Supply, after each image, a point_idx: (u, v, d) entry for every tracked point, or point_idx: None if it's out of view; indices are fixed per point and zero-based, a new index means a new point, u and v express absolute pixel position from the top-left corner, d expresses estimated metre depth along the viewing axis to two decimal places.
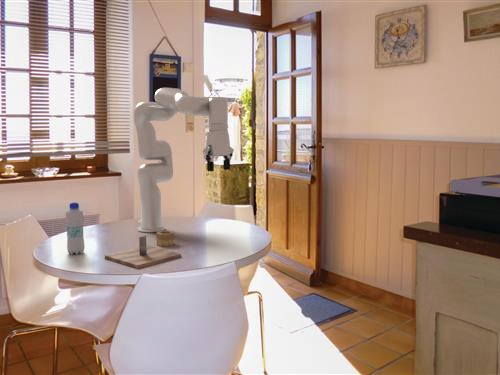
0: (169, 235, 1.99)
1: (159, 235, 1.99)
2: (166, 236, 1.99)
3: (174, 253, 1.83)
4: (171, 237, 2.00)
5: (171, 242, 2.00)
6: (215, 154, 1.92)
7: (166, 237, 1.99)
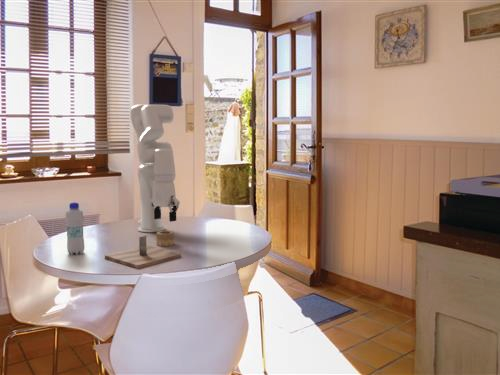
0: (169, 235, 1.99)
1: (159, 235, 1.99)
2: (166, 236, 1.99)
3: (174, 253, 1.83)
4: (171, 237, 2.00)
5: (171, 242, 2.00)
6: None
7: (166, 237, 1.99)
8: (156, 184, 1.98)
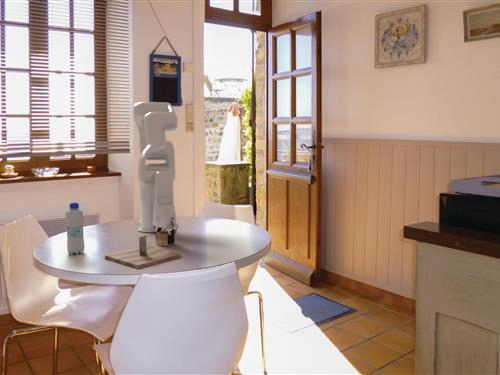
0: None
1: (159, 235, 1.99)
2: (166, 236, 1.98)
3: (174, 253, 1.83)
4: None
5: None
6: None
7: (166, 237, 1.99)
8: (156, 205, 1.99)
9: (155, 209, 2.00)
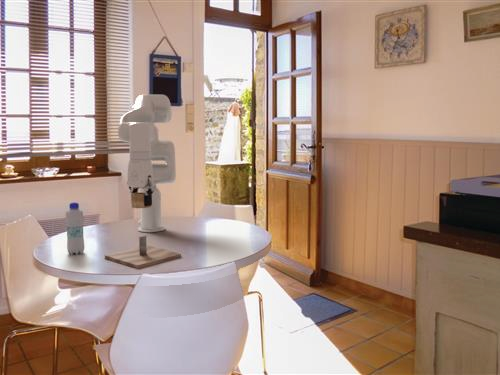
0: None
1: (134, 196, 1.75)
2: (142, 197, 1.75)
3: (174, 253, 1.83)
4: None
5: None
6: None
7: (143, 198, 1.75)
8: (131, 162, 1.76)
9: (130, 167, 1.77)
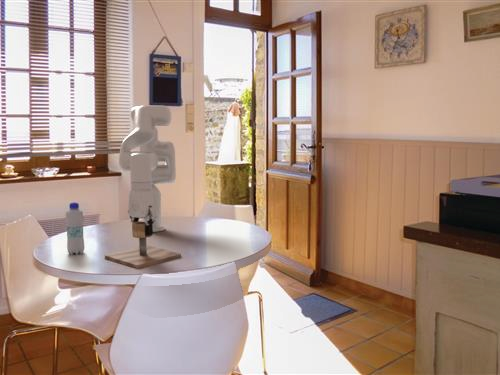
0: None
1: (135, 225, 1.77)
2: (143, 227, 1.77)
3: (174, 253, 1.83)
4: None
5: None
6: None
7: (143, 228, 1.77)
8: (132, 192, 1.77)
9: (131, 196, 1.78)
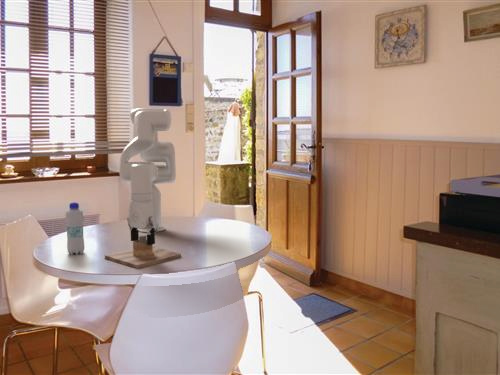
0: (147, 245, 1.78)
1: (136, 245, 1.78)
2: (144, 246, 1.78)
3: (174, 253, 1.83)
4: (149, 247, 1.79)
5: (149, 252, 1.79)
6: None
7: (144, 247, 1.78)
8: (133, 203, 1.78)
9: (131, 207, 1.79)
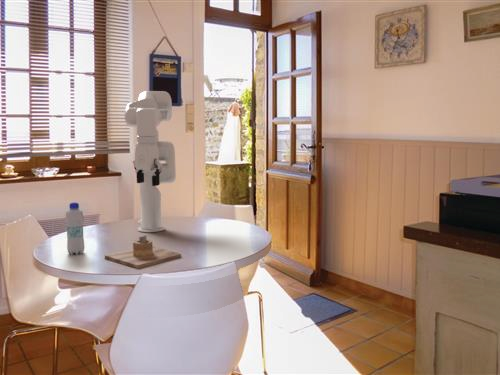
0: (147, 245, 1.78)
1: (136, 245, 1.78)
2: (144, 246, 1.78)
3: (174, 253, 1.83)
4: (149, 247, 1.79)
5: (149, 252, 1.79)
6: None
7: (144, 247, 1.78)
8: (138, 146, 1.87)
9: (137, 150, 1.88)
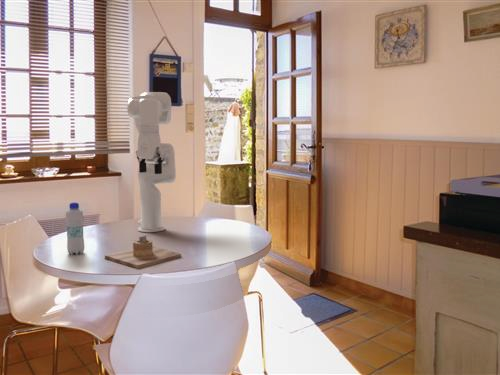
0: (147, 245, 1.78)
1: (136, 245, 1.78)
2: (144, 246, 1.78)
3: (174, 253, 1.83)
4: (149, 247, 1.79)
5: (149, 252, 1.79)
6: None
7: (144, 247, 1.78)
8: (141, 135, 1.92)
9: (140, 140, 1.93)
